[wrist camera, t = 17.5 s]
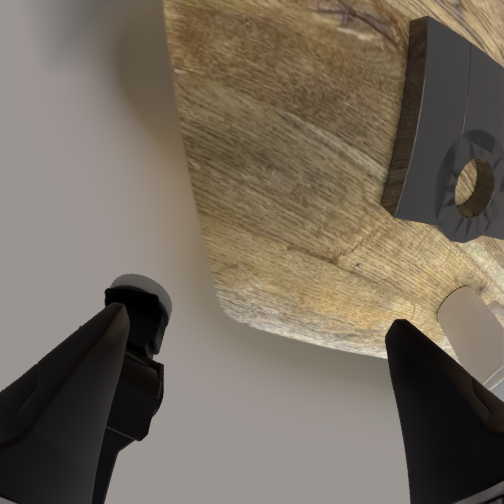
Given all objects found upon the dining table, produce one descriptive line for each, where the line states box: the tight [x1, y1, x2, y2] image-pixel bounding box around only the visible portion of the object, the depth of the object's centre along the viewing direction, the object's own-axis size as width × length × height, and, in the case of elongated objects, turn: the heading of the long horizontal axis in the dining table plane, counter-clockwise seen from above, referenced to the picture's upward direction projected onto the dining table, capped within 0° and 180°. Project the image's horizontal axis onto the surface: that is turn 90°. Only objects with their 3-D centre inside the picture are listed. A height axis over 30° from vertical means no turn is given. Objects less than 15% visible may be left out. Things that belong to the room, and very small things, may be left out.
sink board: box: [381, 16, 504, 243], centre depth 15 cm, size 16×17×2 cm
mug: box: [437, 286, 504, 390], centre depth 21 cm, size 10×7×12 cm, turn 113°
